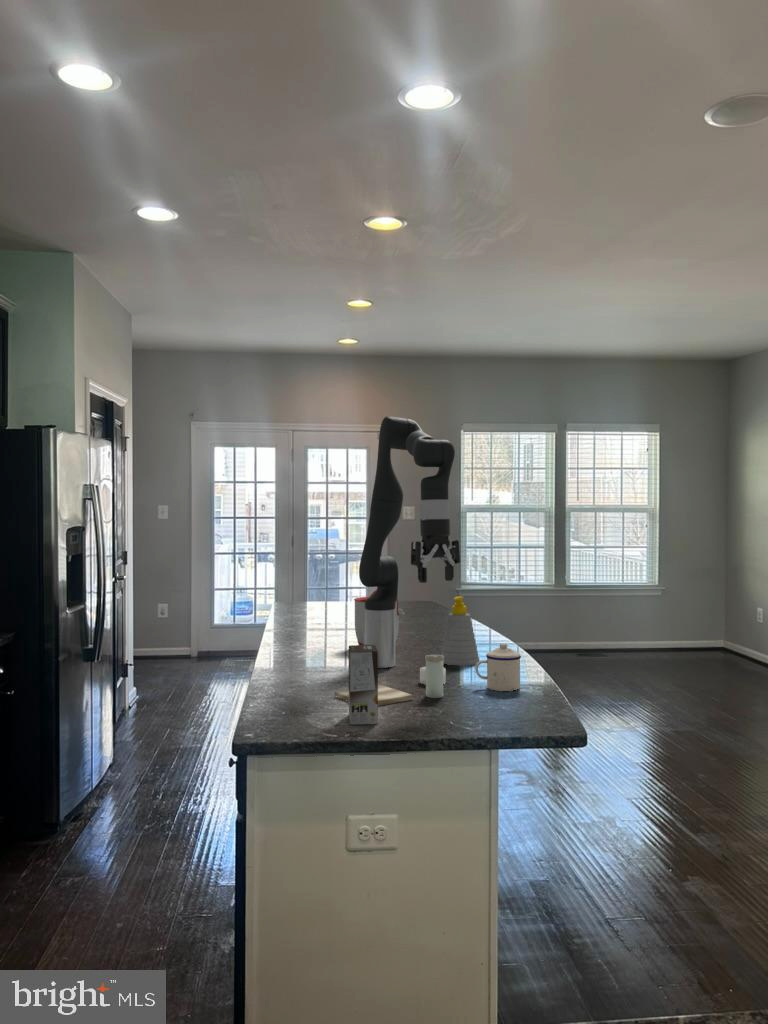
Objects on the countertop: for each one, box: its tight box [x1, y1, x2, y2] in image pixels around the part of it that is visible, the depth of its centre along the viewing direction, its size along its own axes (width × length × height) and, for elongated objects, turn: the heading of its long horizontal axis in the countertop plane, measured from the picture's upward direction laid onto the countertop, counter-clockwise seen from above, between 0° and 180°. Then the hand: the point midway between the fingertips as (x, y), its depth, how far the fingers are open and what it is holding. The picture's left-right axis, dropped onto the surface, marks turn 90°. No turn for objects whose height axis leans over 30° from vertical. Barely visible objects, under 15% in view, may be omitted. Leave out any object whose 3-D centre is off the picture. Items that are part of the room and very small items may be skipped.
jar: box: [424, 654, 444, 699], centre depth 195 cm, size 5×5×10 cm
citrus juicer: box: [353, 589, 405, 645], centre depth 265 cm, size 16×17×20 cm
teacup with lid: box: [474, 643, 522, 692], centre depth 204 cm, size 12×9×12 cm
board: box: [334, 684, 414, 707], centre depth 193 cm, size 14×14×1 cm
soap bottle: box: [440, 596, 481, 667], centre depth 239 cm, size 12×12×20 cm
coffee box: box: [348, 644, 379, 726], centre depth 173 cm, size 9×6×16 cm
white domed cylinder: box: [419, 666, 447, 686], centre depth 210 cm, size 7×7×4 cm
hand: (436, 581), depth 196 cm, fingers open, 8 cm apart
